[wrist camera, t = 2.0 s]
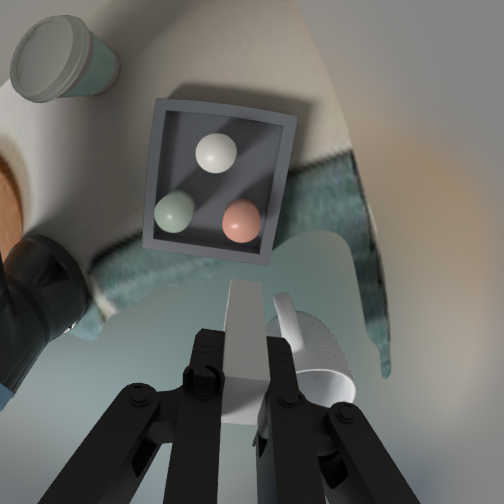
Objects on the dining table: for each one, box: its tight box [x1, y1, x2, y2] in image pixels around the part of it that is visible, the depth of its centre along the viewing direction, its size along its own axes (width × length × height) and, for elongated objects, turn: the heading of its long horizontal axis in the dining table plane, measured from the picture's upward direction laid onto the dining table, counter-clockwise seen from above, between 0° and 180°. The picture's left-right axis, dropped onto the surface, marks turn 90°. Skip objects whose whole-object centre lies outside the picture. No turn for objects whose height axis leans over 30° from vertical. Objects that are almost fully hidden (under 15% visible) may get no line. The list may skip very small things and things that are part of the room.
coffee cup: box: [10, 15, 120, 103], centre depth 20 cm, size 8×8×12 cm
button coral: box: [222, 198, 261, 243], centre depth 29 cm, size 4×4×3 cm
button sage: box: [154, 189, 196, 233], centre depth 28 cm, size 4×4×3 cm
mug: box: [265, 293, 356, 408], centre depth 33 cm, size 15×11×13 cm
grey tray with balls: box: [142, 98, 298, 266], centre depth 30 cm, size 14×16×3 cm
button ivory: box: [196, 133, 237, 173], centre depth 26 cm, size 4×4×3 cm
